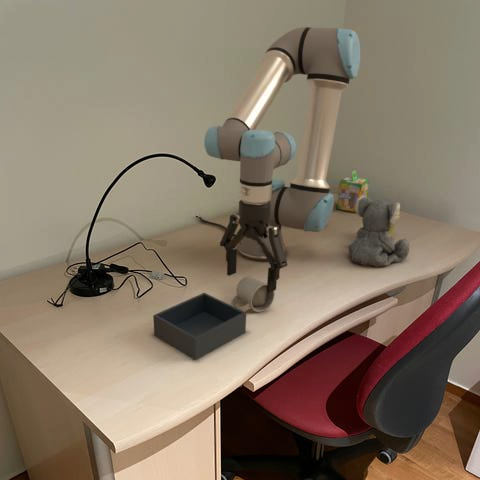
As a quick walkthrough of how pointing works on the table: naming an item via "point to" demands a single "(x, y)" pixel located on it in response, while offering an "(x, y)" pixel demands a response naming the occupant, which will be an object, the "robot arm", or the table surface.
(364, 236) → the koala plush
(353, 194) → the chalk box
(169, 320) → the bin
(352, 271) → the table surface
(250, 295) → the ceramic mug
